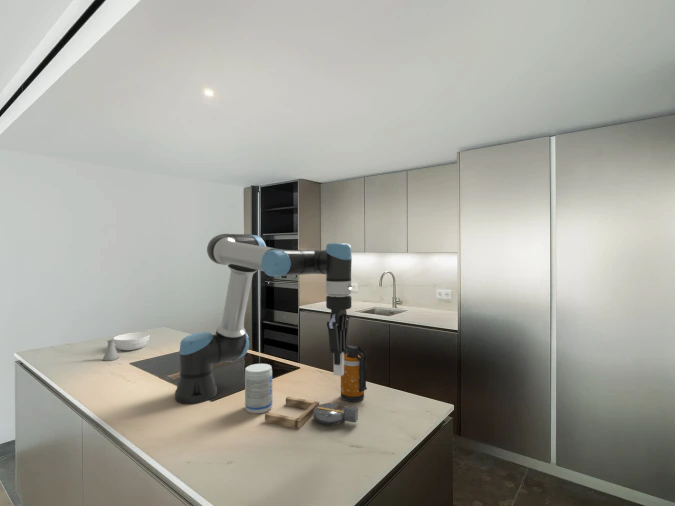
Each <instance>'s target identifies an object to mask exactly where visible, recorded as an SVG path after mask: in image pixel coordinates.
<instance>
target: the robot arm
mask: <svg viewBox="0 0 675 506" xmlns="http://www.w3.org/2000/svg"><path fill="white" fill-rule="evenodd" d="M265 242H266V241H264V240H263V238H262V237H261V236H259V235H255V234H251V233H248V234H247V233H246V234H245V233H243V234H239V233H221V234H218V235H215V236H214V237H212V238H211V239H210V240H209V242H208V244H207V246H206V253H207V255H208V257H209V259H210V260H211V261H212V262H214V263H215V264H218V265H222V266H227V268H228V269H229V270H230V275H229V279H228V280H229V281H228V284H227V290H226V291H227V292H226V297H225V302H224V307H223V314H222V319H221V324H219V325H218V326H217V327H216V331H215V334H212V333H211V332H209V331H202V332H195V333H192V334H190V335H186V336H185V337H184V338H182V340H181V341H180V342H179V344H180V345H179V350H178V351H179V379H178V383H177V386H176V389H175V393H174V400H175V401H176V402H177V403H180V404H196V403H198V404H199V403H202V402H206V401H208V400H211V399H212V398H214V397H216V395H217V394H218V387H217V384H216V382H215V378H214V375H213V366H214V365H218V364H222V363H226V362H230V361H236V360H238V359H240V358H243V357H244V356H245V355H246V354H247V352H248V351H249V347H250V340H249V335H248V333H247V332H246V329H245V327H244V324H245V323H244V322H245V316H246V311H247V307H248V302H249V295H250V293H251V292H250V290H251V286H252V280H253V276H254V274H255V273H257V272H258V271H262V272H264V274H265V275H267V276H269V277H276V278H280V277H286V276H298V275H299V276H300V275H301V276H303V275H325V276H326V278H325V280H326V281H325V294H326V297H325V300H326V301H325V303H326V304H325V305H326V308H327V309H328V310H330V319H329V320H330V321H327V322H326V327H327V330H328V331H327V332H328V341H329V351H330V352H329V353H330V354H333V376H339V377H341V376H342V375H343V374H344V355H345V352H346V353H348V352H347V349H345V348H346V347H347V345H348V338H349V337H348V335H349V322H350V318H351V317H350V315H348V314H347V310H349V309H351V308H352V296H351V295H352V288H353V287H354V285H353V284H352V262H353V261H352V260H353V257H352V246H351V244H349V243H341V242H337V243H334V242H333V243H331V242H330V243H327V244H326V245H325V249H302V250H301V249H281V248H274V247H270V246H267V245H266V243H265Z"/></svg>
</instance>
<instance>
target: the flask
mask: <svg viewBox="0 0 675 506" xmlns="http://www.w3.org/2000/svg"><path fill="white" fill-rule="evenodd" d="M114 341H115V339H113V338H111V339H108V340H107V341H106V342H107V347H106V350H105V352H104V355H103V357H102V361H105V362H107V361H108V362H109V361H115V360H118V359H119V358H120V355H119V352H118V351H117V347H116V344H114Z"/></svg>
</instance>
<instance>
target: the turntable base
mask: <svg viewBox="0 0 675 506" xmlns="http://www.w3.org/2000/svg"><path fill="white" fill-rule="evenodd" d="M321 424H322V425H325V426H336V425H338V424H339V423H337V424H323V423H321Z"/></svg>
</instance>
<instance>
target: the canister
mask: <svg viewBox="0 0 675 506" xmlns="http://www.w3.org/2000/svg"><path fill="white" fill-rule="evenodd" d="M345 349H347V352H346V353H345V354H344V374H343V375H342V376H340V398H341V399H342V400H345V401H348V402H358V401H362V400H363V399H364V398H365V391H366V390H368V388H367V358H368V354H367V353H366V352H365V351H364V349H362V347H361V346H358V347H357V346H354V345H351V344H347V347H346V348H345Z"/></svg>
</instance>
